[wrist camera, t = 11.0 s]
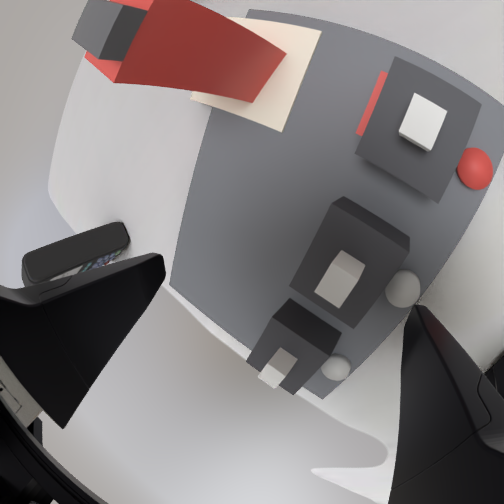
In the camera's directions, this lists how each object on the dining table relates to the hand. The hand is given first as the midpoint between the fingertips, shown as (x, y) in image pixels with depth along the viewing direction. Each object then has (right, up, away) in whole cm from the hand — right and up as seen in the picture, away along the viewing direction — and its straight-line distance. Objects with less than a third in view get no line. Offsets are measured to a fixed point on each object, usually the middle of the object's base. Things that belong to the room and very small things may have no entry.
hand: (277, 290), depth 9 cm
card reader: (-20, +3, +27) cm, 34 cm away
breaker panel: (+2, +5, +11) cm, 13 cm away
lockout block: (-1, +15, +8) cm, 17 cm away
